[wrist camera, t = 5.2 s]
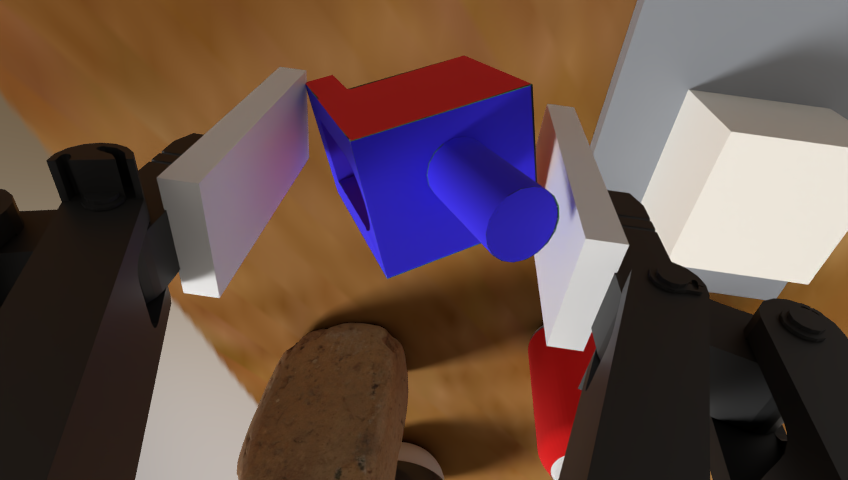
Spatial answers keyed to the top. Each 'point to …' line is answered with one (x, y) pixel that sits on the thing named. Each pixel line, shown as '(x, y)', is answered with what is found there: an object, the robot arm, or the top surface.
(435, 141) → the toy building block
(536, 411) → the beverage can
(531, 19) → the top surface
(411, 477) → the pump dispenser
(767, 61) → the build base
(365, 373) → the block
